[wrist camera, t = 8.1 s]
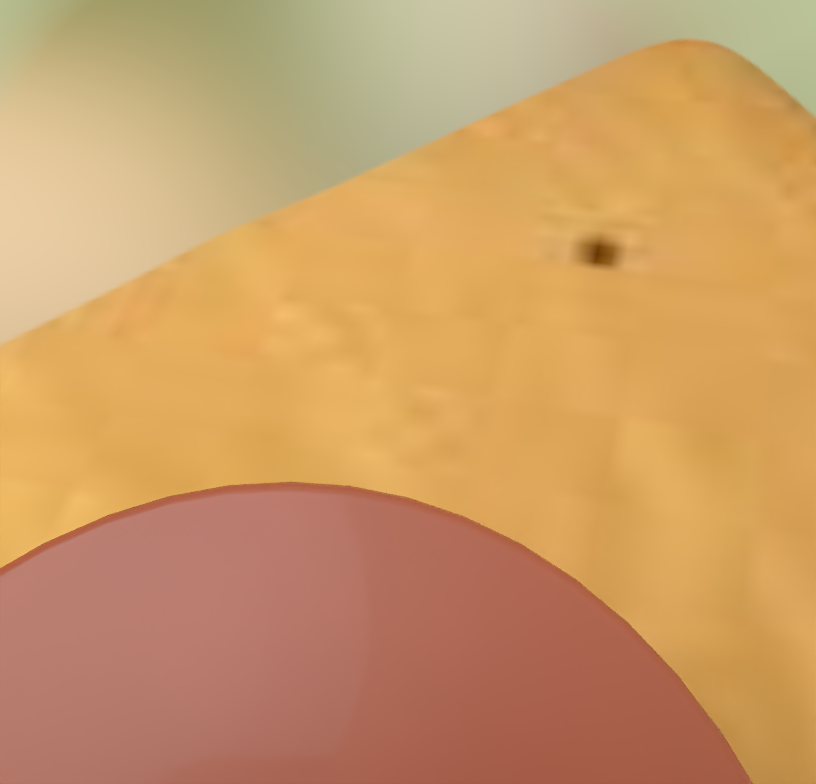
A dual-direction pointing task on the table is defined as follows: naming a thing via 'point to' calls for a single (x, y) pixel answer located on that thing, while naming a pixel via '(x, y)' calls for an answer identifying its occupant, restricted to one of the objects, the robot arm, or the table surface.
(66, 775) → the reddish brown cylinder
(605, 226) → the table surface
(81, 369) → the table surface
